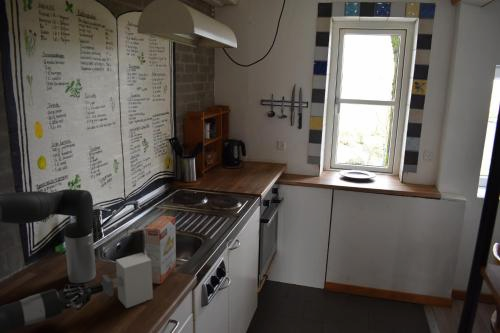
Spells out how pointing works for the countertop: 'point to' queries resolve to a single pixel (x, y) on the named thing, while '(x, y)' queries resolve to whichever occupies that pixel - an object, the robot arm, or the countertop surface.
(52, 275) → the countertop surface
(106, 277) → the block
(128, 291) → the key block
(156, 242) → the cracker box
